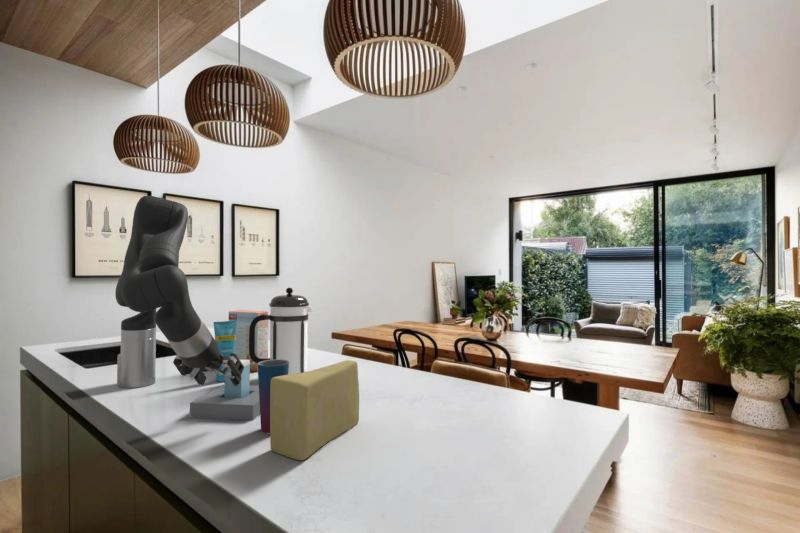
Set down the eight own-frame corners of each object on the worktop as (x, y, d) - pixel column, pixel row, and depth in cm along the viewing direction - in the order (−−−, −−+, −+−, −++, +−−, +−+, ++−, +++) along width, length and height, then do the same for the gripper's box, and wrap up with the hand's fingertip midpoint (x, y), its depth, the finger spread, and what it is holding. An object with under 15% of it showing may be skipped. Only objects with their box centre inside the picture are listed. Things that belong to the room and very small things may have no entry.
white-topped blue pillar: (224, 410, 106) (224, 363, 106) (233, 404, 110) (233, 359, 110) (241, 411, 105) (241, 363, 105) (249, 405, 110) (249, 359, 110)
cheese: (341, 418, 101) (341, 356, 101) (373, 426, 96) (373, 361, 96) (267, 451, 82) (268, 375, 83) (301, 463, 77) (302, 382, 77)
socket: (189, 417, 101) (189, 400, 101) (224, 397, 117) (224, 382, 117) (252, 419, 99) (253, 403, 99) (279, 399, 115) (279, 384, 115)
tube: (215, 383, 130) (216, 322, 130) (210, 380, 134) (211, 320, 134) (239, 379, 135) (240, 320, 135) (233, 376, 139) (234, 319, 139)
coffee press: (289, 369, 149) (290, 286, 149) (320, 376, 140) (321, 287, 140) (247, 379, 135) (248, 287, 135) (278, 388, 126) (279, 289, 126)
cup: (294, 425, 95) (295, 360, 96) (276, 437, 89) (277, 367, 89) (269, 422, 98) (270, 358, 98) (250, 432, 91) (250, 364, 91)
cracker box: (268, 368, 150) (269, 311, 150) (256, 372, 145) (257, 312, 145) (240, 364, 156) (240, 309, 156) (227, 368, 150) (227, 310, 151)
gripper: (231, 327, 90) (254, 369, 101) (169, 327, 91) (198, 367, 102) (218, 357, 84) (244, 397, 95) (152, 356, 86) (185, 395, 97)
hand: (220, 382), depth 99 cm, fingers open, 8 cm apart
